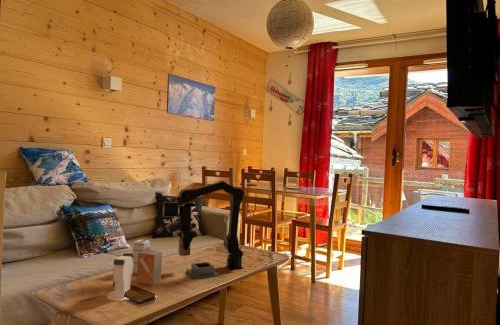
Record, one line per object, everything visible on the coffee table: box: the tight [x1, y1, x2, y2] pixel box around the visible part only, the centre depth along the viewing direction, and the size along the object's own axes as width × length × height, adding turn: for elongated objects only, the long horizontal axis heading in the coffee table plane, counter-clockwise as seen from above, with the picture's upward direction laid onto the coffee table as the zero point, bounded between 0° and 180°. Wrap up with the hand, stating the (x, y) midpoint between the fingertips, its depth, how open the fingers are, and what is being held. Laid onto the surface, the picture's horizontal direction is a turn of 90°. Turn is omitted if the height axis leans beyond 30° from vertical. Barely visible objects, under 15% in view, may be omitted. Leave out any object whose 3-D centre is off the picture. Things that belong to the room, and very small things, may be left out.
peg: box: [178, 236, 191, 257], centre depth 172 cm, size 4×4×8 cm
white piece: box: [106, 252, 134, 302], centre depth 141 cm, size 12×11×15 cm
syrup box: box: [132, 239, 151, 274], centre depth 169 cm, size 6×6×14 cm
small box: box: [136, 249, 163, 286], centre depth 156 cm, size 8×6×13 cm
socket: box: [186, 261, 220, 280], centre depth 170 cm, size 12×12×4 cm
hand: (184, 249), depth 172 cm, fingers closed on peg, 4 cm apart
